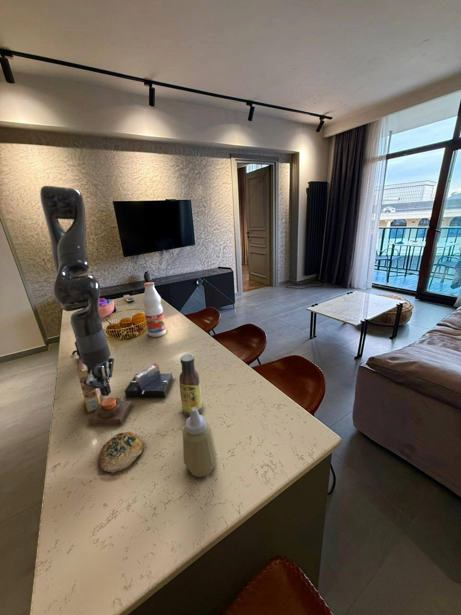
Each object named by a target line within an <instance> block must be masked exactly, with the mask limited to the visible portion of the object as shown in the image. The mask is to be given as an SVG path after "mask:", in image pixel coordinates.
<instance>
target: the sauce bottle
mask: <svg viewBox="0 0 461 615" xmlns="http://www.w3.org/2000/svg"><path fill="white" fill-rule="evenodd" d="M180 365H181V372H180V374H179V379H178V380H179V381H178V382H179V392H180V393H179V394H180V401H181V408H182V412H183V414H184V415H185V416H187V417H191V409H192V408H193V407H196V408H197V410H198V413H199V414H201V412H202V409H203V407H202V405H203V402H202V401H203V400H202V391H201V380H200V374H199V372H198V371H197V369H196V367H195V356H194V355H193V354H191V353H187V354H183V355H181V357H180Z"/></svg>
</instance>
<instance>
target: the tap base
mask: <svg viewBox="0 0 461 615" xmlns="http://www.w3.org/2000/svg"><path fill="white" fill-rule="evenodd" d="M137 374H138V373H135V375H137ZM160 375H161V376H160V377H158V378H157V379H155V380H154V381H153V382H151V383H150V384H148V385H147V386H145V387H144V388H142V389H139V388H137V384H136V379H135V376H133V378H132V380H131V381H130V382H129V384H128V385H127V387H126V388H125V390H124V393H125V398H126V399H141V398H142V399H166V397H167V395H168V392H169V390H170V388H171V385H172V384H173V381H174V377H173V373H160Z"/></svg>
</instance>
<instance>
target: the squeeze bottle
mask: <svg viewBox="0 0 461 615" xmlns="http://www.w3.org/2000/svg"><path fill="white" fill-rule="evenodd" d="M182 447H183V448H182V449H183V450H182V452H183V464H184V465H185V467H186V468H187V469H188V471H189V472H190V473H191V475H192V476H194V477H195V478H196V477H197V478H203V477H206V476H208V475H209V474H210V473H211V472H212V470H213V469H214V465H215V462H216V460H217V449H216V445H215V441H214V437H213V432H212V428H211V425H210V423H209V422H207V420H206V418H205V416H204V415H202V414H200V413H198V410H197V408H196V407H193V408H192V409H191V416H188V418H187V419H186V421H185V427H183V431H182Z"/></svg>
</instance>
